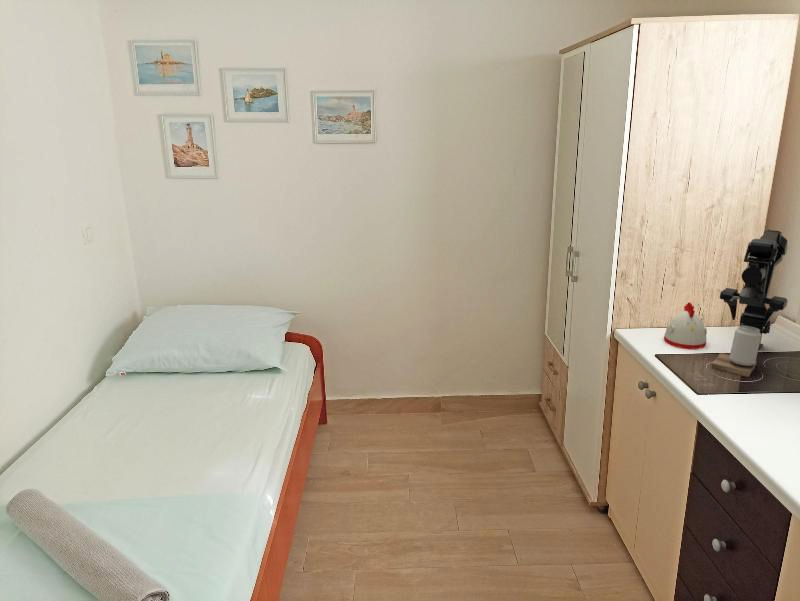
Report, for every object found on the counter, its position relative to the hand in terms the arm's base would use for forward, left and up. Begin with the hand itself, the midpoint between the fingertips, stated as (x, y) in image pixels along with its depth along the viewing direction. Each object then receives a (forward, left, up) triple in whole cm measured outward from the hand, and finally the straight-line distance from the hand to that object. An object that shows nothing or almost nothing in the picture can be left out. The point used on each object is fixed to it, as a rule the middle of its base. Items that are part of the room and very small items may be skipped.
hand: (748, 323), depth 201 cm
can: (+9, +2, -11) cm, 15 cm away
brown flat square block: (+9, 0, -14) cm, 16 cm away
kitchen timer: (-3, -20, -13) cm, 24 cm away
